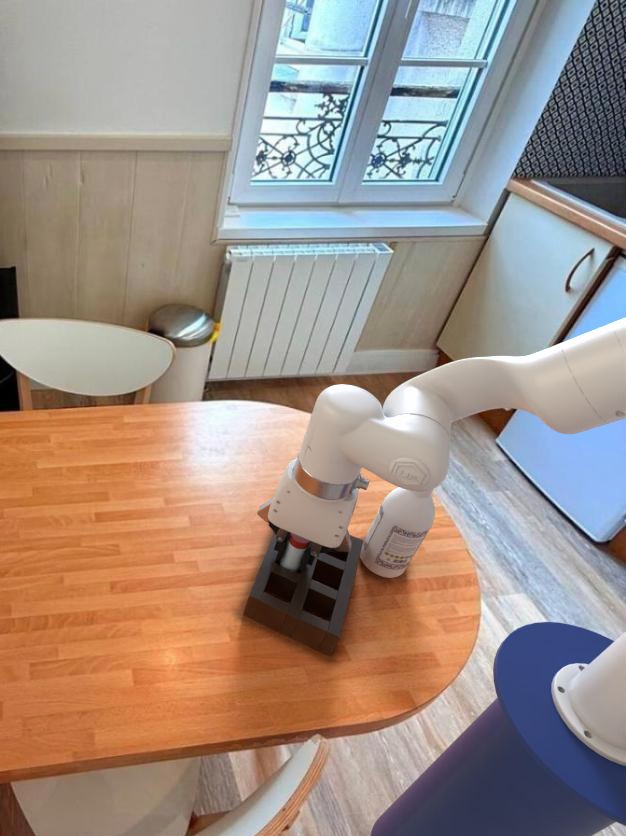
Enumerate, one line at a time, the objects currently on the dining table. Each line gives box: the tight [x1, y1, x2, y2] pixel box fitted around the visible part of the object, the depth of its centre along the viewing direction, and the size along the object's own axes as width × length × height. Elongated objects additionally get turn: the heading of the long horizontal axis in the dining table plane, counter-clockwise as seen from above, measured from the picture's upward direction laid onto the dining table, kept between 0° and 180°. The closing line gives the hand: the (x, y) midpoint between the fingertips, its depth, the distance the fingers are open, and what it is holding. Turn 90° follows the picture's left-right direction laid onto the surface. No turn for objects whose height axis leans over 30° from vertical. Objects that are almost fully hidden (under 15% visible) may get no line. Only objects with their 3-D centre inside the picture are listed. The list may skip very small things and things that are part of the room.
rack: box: [242, 532, 364, 657], centre depth 90 cm, size 12×18×5 cm
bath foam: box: [359, 486, 436, 579], centre depth 89 cm, size 7×7×20 cm
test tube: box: [279, 532, 310, 573], centre depth 89 cm, size 3×3×10 cm
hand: (292, 557), depth 89 cm, fingers closed on test tube, 2 cm apart
